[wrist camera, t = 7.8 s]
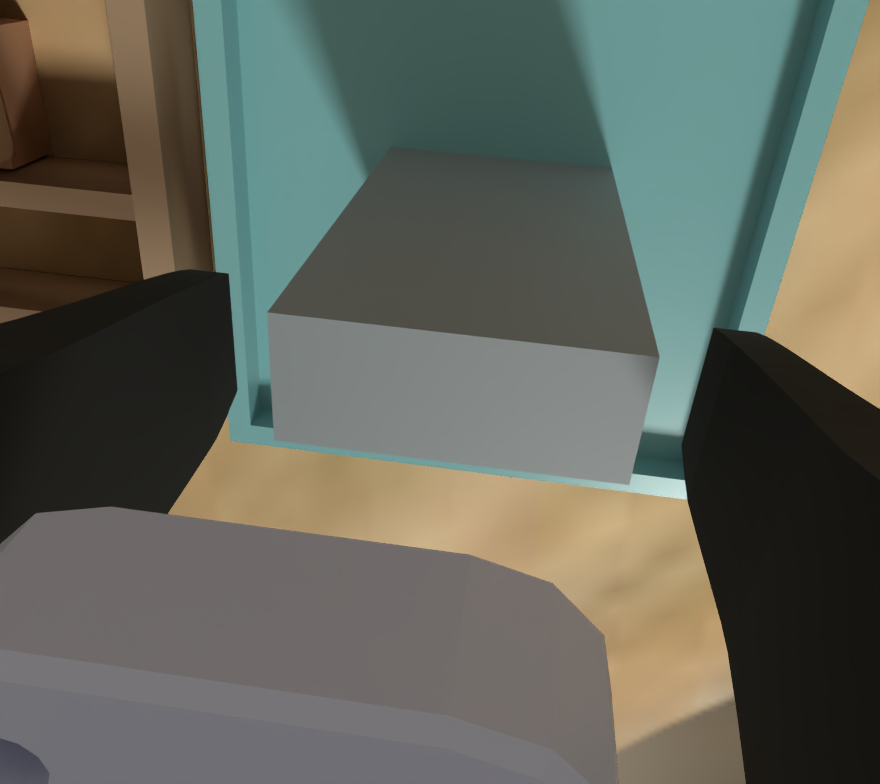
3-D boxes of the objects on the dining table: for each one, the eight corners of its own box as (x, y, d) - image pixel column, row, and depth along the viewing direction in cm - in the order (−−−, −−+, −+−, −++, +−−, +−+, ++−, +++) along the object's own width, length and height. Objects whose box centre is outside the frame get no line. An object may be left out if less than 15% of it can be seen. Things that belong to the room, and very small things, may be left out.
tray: (702, 469, 22) (711, 502, 21) (248, 412, 23) (230, 440, 21) (881, -134, 15) (914, -141, 13) (206, -182, 16) (175, -192, 14)
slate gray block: (597, 253, 18) (629, 485, 11) (387, 231, 19) (273, 440, 11) (612, 168, 17) (660, 357, 10) (390, 147, 18) (266, 311, 10)
